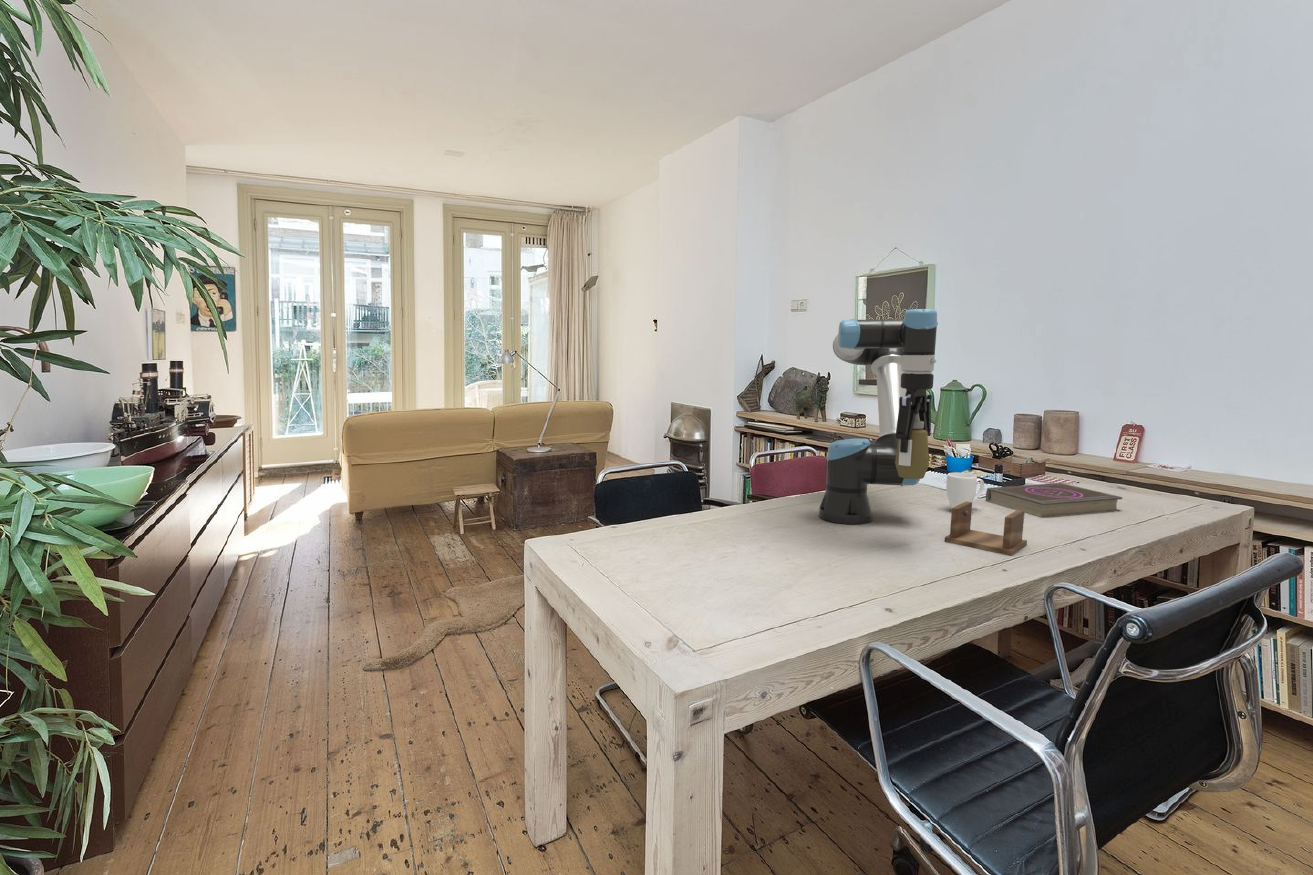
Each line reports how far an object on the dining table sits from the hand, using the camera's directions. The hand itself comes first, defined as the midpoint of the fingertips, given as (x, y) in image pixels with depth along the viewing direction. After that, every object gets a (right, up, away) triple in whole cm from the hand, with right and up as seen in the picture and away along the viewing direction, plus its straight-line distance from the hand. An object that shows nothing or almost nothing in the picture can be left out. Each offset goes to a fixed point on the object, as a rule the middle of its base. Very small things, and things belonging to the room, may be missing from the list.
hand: (911, 463), depth 161 cm
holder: (+20, -21, +4) cm, 29 cm away
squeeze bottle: (0, -4, +1) cm, 4 cm away
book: (+62, -16, +43) cm, 77 cm away
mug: (+31, -16, +37) cm, 51 cm away
